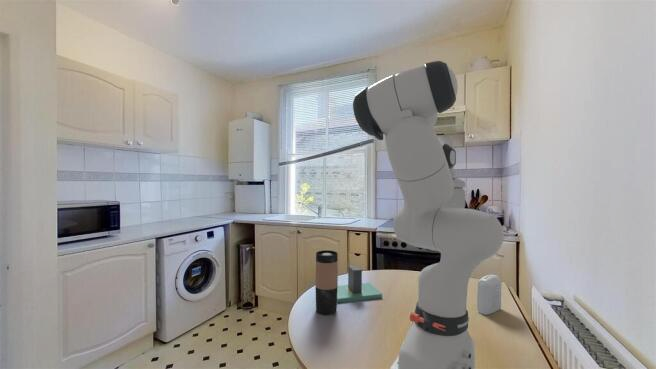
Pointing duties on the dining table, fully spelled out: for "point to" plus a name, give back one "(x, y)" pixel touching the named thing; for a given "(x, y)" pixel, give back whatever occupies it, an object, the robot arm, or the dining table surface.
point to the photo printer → (489, 294)
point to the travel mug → (326, 282)
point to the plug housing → (355, 279)
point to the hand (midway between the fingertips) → (440, 220)
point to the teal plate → (367, 293)
